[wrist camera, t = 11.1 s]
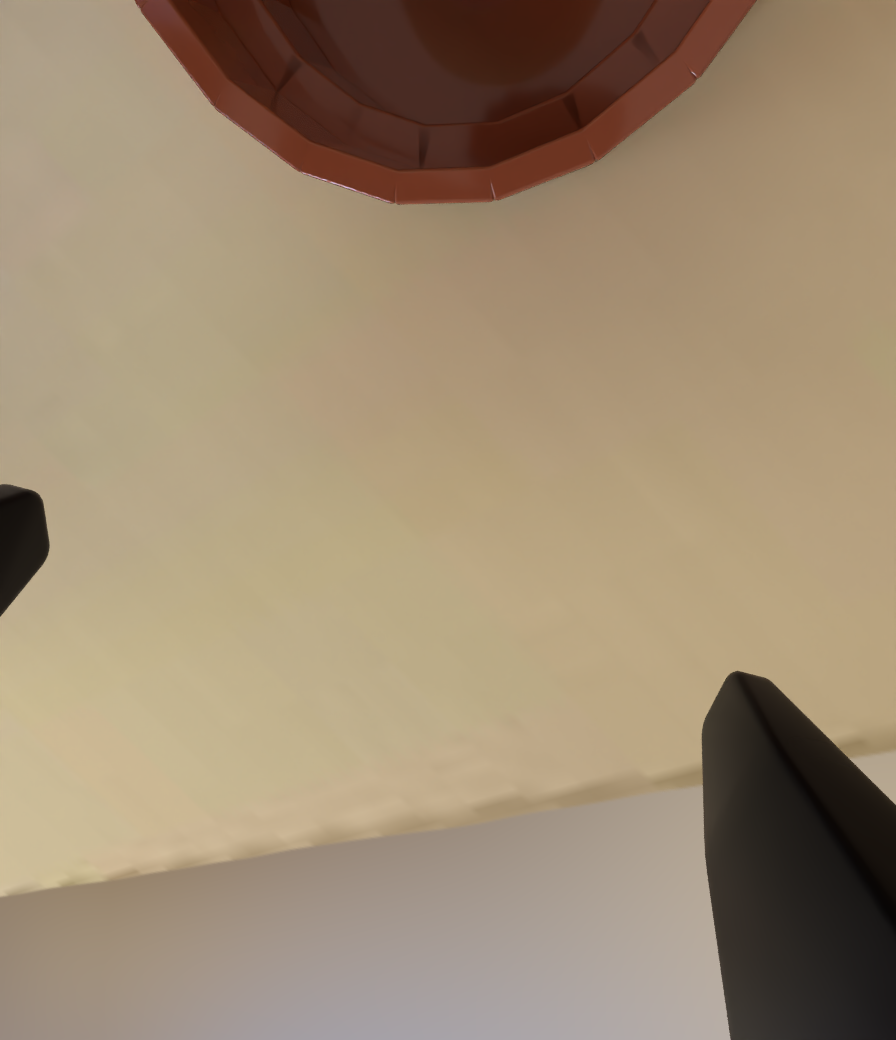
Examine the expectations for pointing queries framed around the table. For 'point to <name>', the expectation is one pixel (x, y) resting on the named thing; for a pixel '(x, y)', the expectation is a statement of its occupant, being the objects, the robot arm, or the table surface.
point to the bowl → (442, 83)
